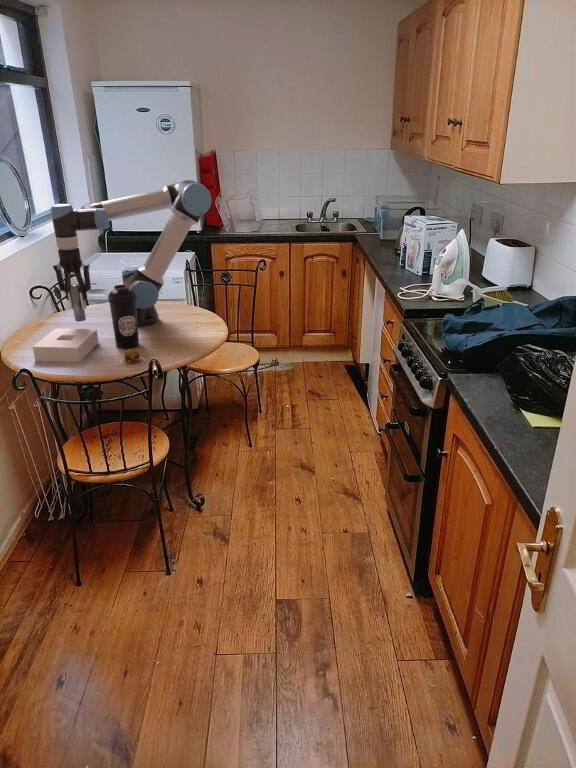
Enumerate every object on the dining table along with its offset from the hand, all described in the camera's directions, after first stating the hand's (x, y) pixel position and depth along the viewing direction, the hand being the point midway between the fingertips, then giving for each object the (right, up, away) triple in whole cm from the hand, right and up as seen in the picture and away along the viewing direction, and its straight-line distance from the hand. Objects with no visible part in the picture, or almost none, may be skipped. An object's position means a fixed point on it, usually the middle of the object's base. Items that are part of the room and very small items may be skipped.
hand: (78, 308), depth 218 cm
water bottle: (+20, -15, -3) cm, 25 cm away
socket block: (0, -18, -10) cm, 20 cm away
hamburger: (+26, -23, -18) cm, 39 cm away
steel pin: (0, -4, +2) cm, 5 cm away
